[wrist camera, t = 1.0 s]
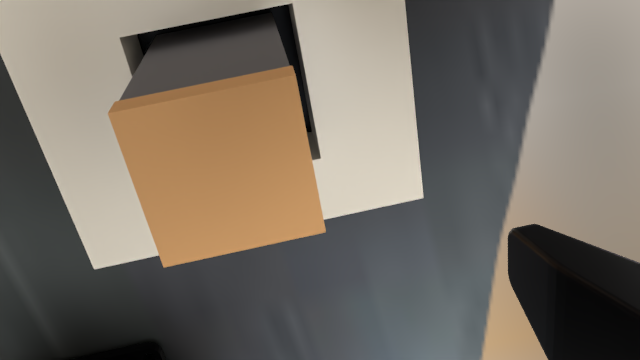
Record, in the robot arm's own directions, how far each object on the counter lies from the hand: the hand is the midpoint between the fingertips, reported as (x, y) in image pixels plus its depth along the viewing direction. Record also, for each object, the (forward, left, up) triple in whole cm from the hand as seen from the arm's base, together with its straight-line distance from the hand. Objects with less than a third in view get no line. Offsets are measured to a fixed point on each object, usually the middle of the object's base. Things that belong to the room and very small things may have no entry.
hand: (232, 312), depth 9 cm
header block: (0, 0, -13) cm, 13 cm away
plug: (0, 0, -13) cm, 13 cm away
